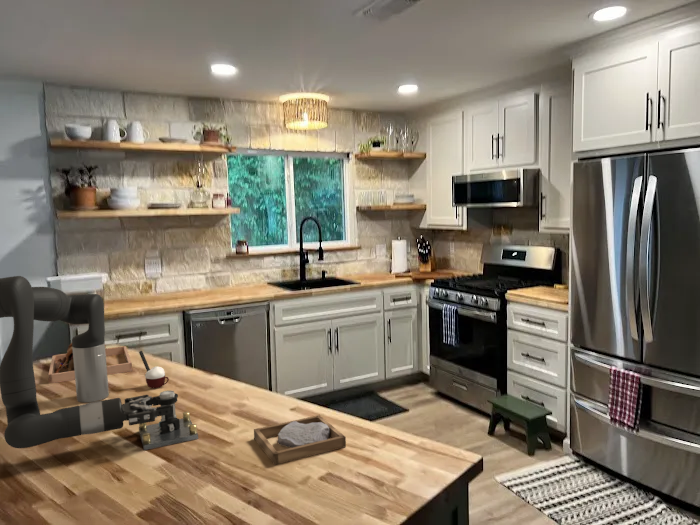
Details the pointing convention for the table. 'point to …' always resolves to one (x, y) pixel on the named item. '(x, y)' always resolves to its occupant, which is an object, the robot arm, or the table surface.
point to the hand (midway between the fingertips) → (169, 403)
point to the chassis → (168, 433)
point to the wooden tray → (110, 369)
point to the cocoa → (154, 374)
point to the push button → (169, 420)
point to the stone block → (302, 434)
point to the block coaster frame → (300, 451)
